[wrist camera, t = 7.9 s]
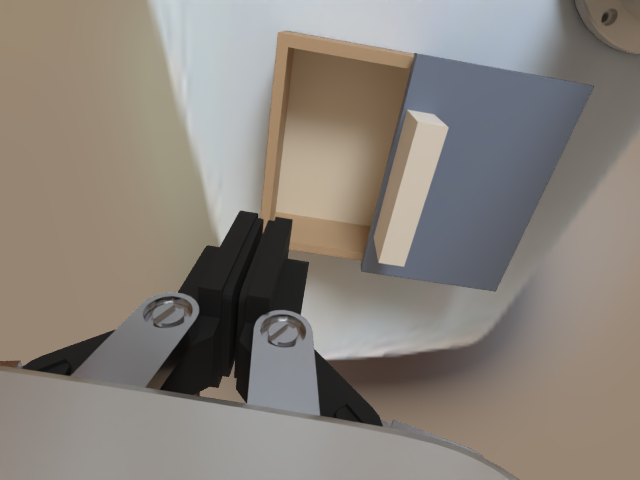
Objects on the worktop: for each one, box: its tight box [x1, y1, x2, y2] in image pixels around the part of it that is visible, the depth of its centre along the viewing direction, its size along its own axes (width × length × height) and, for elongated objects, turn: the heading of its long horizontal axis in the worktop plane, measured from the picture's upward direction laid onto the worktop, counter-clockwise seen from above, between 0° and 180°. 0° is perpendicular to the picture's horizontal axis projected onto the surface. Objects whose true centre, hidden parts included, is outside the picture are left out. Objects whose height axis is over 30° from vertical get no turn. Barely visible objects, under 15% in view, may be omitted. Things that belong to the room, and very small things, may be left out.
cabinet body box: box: [261, 31, 414, 260], centre depth 26 cm, size 9×13×5 cm
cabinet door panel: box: [361, 53, 594, 291], centre depth 22 cm, size 9×13×4 cm
